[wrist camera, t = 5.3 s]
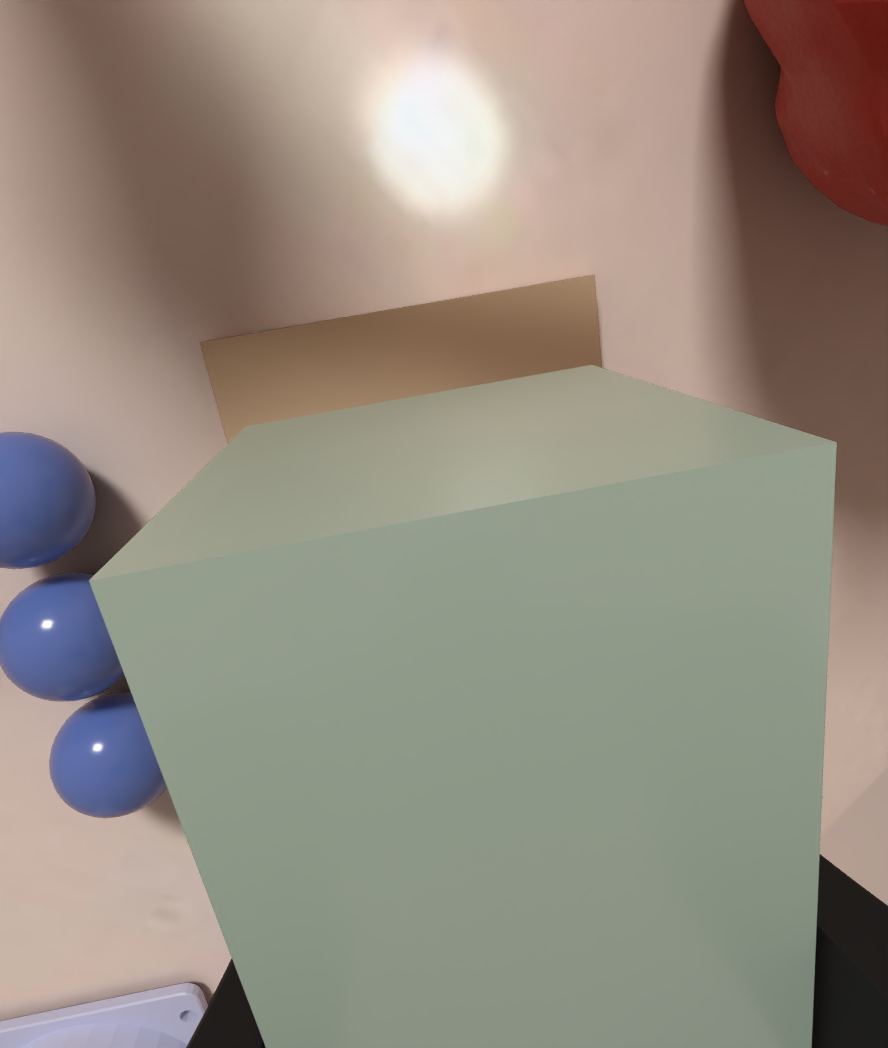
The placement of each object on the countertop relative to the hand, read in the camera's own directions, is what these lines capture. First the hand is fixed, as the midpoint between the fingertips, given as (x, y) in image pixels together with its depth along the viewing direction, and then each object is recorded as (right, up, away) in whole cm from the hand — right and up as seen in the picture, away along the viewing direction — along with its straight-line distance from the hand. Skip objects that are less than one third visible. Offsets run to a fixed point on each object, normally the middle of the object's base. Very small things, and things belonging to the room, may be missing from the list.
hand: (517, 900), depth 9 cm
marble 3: (-9, 0, +9) cm, 13 cm away
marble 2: (-10, +3, +8) cm, 13 cm away
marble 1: (-11, +6, +7) cm, 14 cm away
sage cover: (0, +1, +3) cm, 4 cm away
